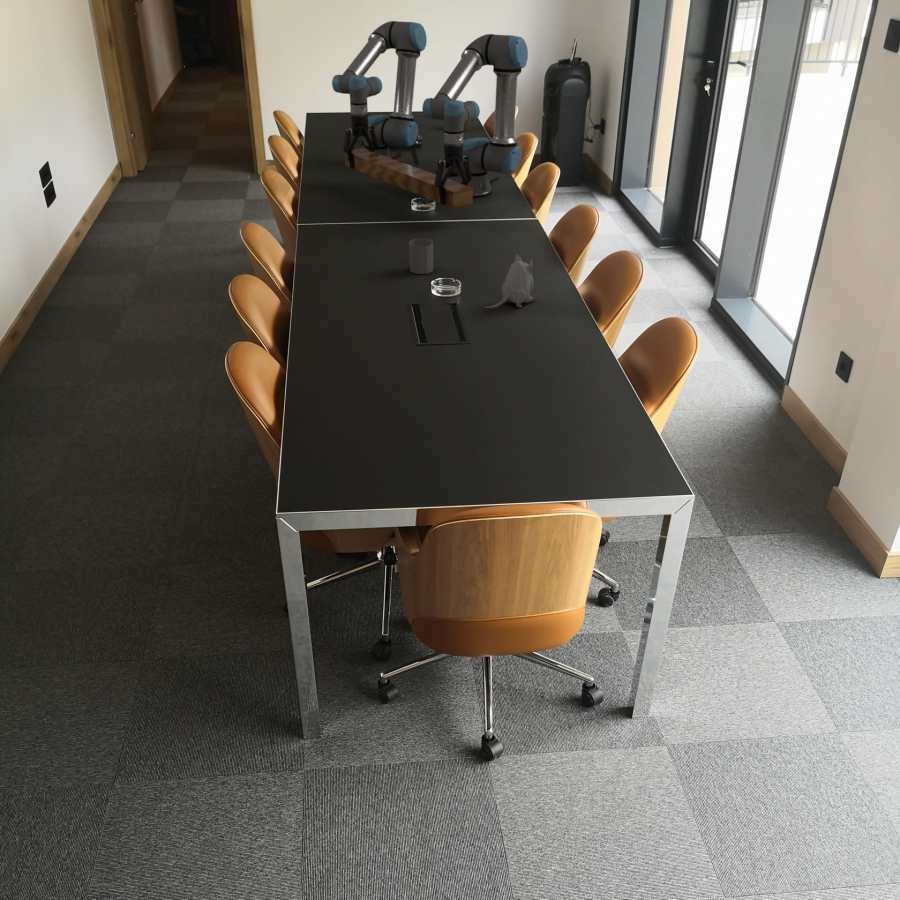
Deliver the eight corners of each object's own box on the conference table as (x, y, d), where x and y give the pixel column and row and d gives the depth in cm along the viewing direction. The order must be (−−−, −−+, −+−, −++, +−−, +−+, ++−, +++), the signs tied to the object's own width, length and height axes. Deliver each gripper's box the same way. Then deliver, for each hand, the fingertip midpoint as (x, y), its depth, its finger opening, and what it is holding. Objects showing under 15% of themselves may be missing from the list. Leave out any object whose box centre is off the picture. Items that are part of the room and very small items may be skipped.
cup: (409, 265, 311) (408, 238, 306) (432, 265, 312) (431, 238, 307) (410, 274, 304) (409, 246, 299) (433, 273, 305) (433, 246, 299)
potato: (462, 169, 421) (462, 152, 416) (464, 177, 409) (465, 160, 405) (442, 169, 420) (442, 152, 416) (444, 177, 408) (444, 160, 404)
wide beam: (345, 166, 394) (344, 151, 390) (363, 162, 399) (362, 148, 395) (453, 208, 340) (453, 192, 337) (472, 204, 345) (472, 187, 342)
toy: (541, 300, 285) (543, 256, 277) (494, 322, 270) (495, 276, 262) (519, 293, 290) (521, 249, 282) (472, 313, 276) (473, 269, 268)
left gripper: (341, 119, 371) (345, 171, 383) (385, 112, 383) (387, 164, 395) (332, 116, 376) (336, 168, 388) (375, 109, 388) (377, 160, 400)
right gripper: (436, 149, 326) (436, 208, 338) (482, 141, 338) (480, 198, 350) (424, 146, 331) (425, 204, 343) (470, 137, 343) (469, 194, 355)
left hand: (361, 166), depth 392 cm, fingers closed on wide beam, 10 cm apart
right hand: (453, 201), depth 347 cm, fingers closed on wide beam, 10 cm apart
